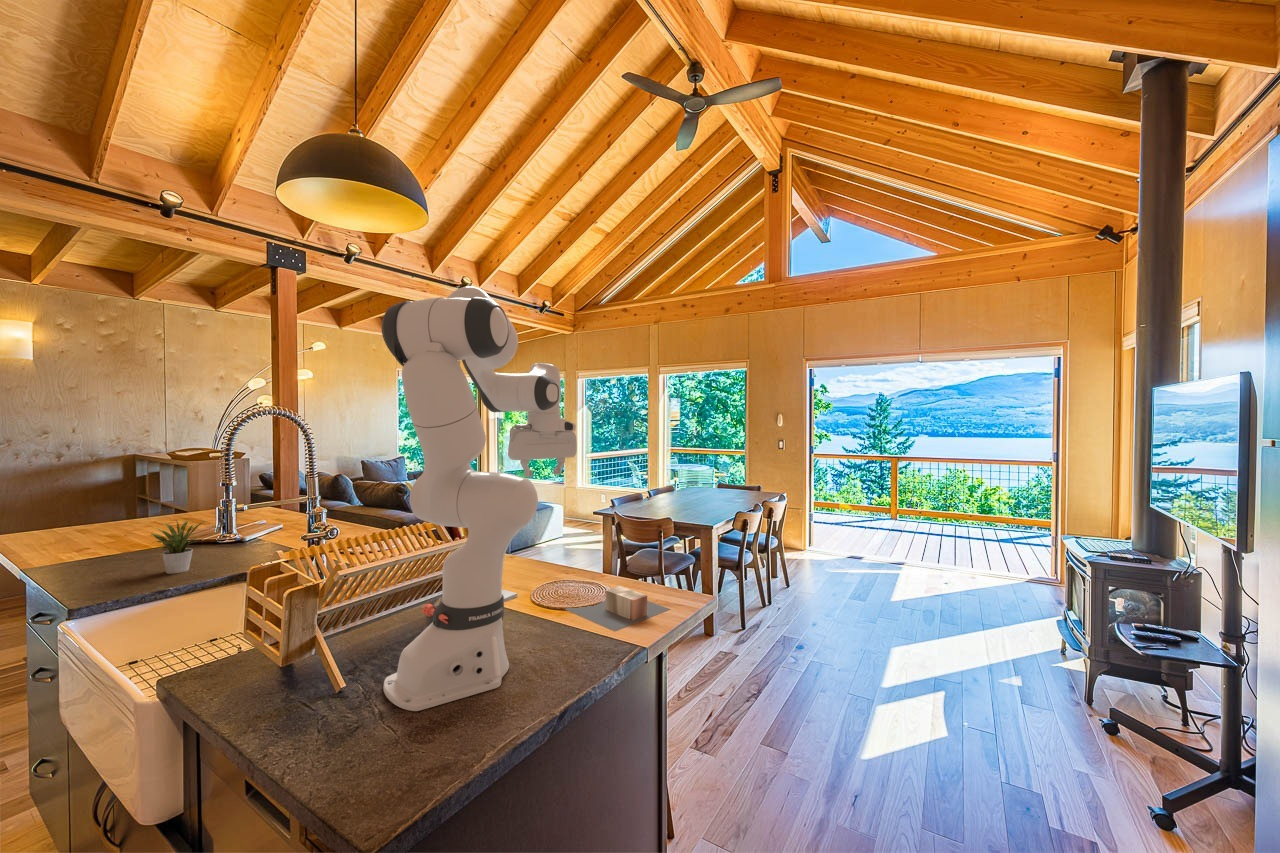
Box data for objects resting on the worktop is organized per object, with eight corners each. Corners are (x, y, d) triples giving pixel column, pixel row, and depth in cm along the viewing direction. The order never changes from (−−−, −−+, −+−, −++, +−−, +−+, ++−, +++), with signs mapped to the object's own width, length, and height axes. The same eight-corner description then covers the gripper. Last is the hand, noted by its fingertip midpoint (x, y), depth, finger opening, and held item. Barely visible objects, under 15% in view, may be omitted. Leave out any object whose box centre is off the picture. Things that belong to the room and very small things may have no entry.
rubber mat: (614, 633, 118) (614, 631, 118) (564, 611, 131) (564, 609, 131) (670, 611, 133) (670, 609, 133) (619, 593, 146) (619, 591, 146)
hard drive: (496, 587, 146) (460, 600, 135) (517, 593, 141) (482, 606, 131) (496, 593, 146) (460, 606, 135) (517, 599, 141) (482, 613, 131)
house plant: (203, 561, 169) (204, 512, 169) (218, 568, 162) (218, 517, 161) (144, 571, 158) (145, 518, 157) (157, 579, 150) (158, 524, 150)
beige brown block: (605, 609, 132) (632, 620, 125) (605, 590, 131) (633, 600, 125) (619, 604, 135) (646, 615, 128) (619, 585, 135) (647, 595, 128)
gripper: (517, 424, 128) (516, 479, 128) (580, 424, 143) (579, 474, 143) (503, 423, 132) (502, 477, 132) (566, 424, 147) (565, 472, 147)
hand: (543, 475), depth 138 cm, fingers open, 8 cm apart
